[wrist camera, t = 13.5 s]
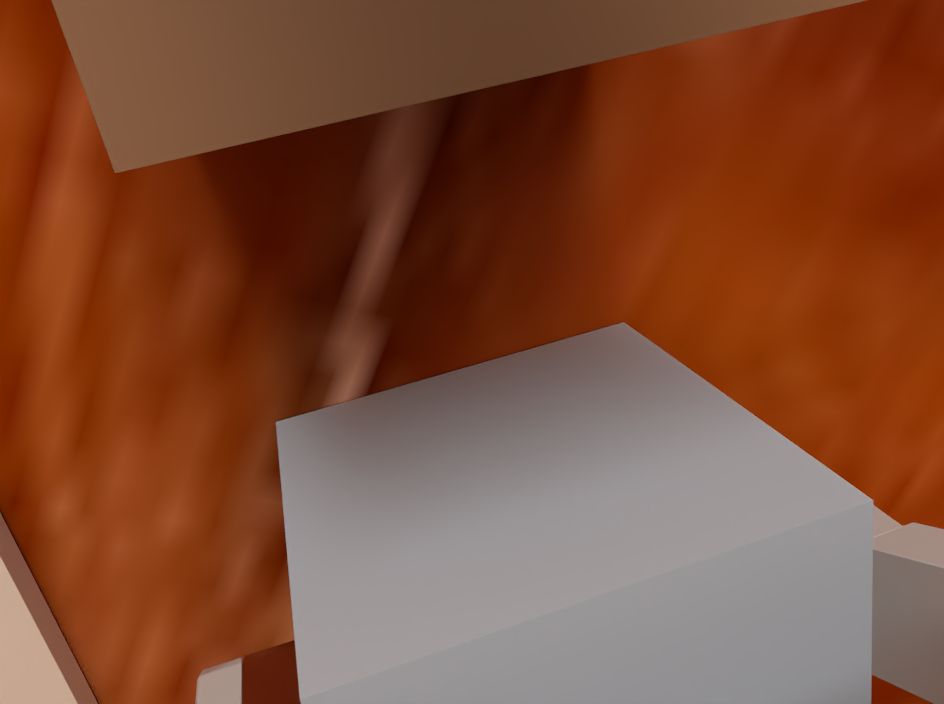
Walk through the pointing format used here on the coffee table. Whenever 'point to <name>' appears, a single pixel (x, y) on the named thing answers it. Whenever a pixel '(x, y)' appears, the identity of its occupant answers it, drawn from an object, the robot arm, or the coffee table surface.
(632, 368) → the grey cube
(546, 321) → the coffee table surface
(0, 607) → the letter card
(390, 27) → the walnut block
